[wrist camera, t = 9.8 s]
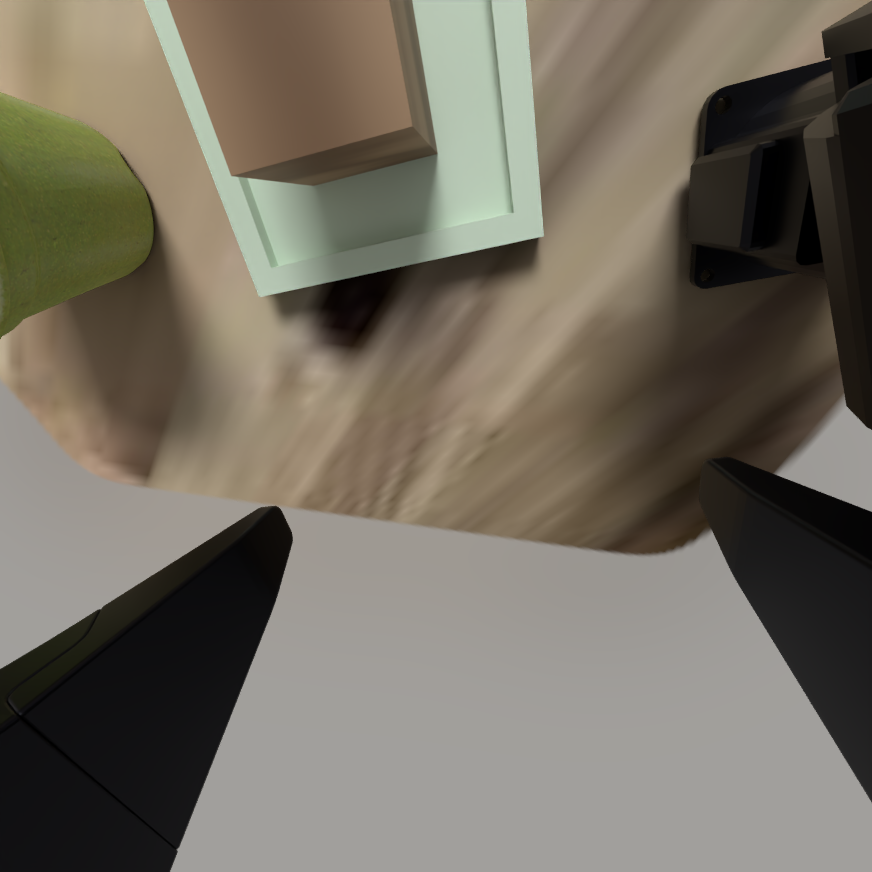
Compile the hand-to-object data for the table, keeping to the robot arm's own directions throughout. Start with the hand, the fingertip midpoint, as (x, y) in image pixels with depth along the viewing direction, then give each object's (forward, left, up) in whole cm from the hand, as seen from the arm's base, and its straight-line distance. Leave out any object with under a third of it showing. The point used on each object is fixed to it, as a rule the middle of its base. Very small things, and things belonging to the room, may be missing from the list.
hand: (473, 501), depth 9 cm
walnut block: (+3, -10, -11) cm, 15 cm away
